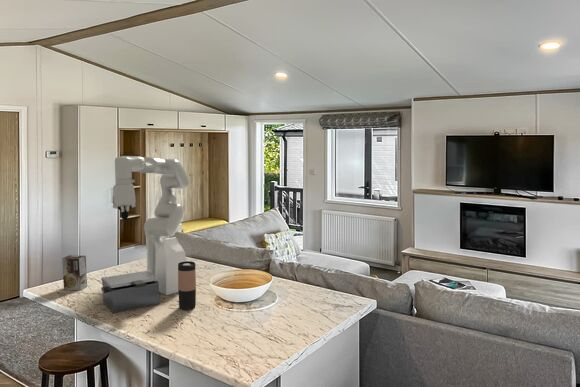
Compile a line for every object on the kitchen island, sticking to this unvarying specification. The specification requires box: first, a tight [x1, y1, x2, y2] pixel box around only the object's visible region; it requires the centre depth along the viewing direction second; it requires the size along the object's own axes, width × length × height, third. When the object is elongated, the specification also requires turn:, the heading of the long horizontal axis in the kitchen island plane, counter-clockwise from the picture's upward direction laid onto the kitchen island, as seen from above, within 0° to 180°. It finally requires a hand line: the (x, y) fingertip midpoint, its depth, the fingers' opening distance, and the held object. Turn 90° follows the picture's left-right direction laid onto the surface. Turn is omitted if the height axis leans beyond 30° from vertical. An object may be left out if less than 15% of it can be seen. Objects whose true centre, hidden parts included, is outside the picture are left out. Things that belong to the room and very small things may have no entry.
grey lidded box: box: [100, 280, 160, 314], centre depth 204 cm, size 24×18×10 cm
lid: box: [100, 270, 160, 288], centre depth 200 cm, size 21×25×2 cm
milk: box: [155, 236, 187, 296], centre depth 222 cm, size 12×12×26 cm
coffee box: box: [61, 254, 88, 291], centre depth 223 cm, size 9×6×16 cm
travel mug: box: [177, 260, 197, 311], centre depth 198 cm, size 8×8×20 cm
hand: (124, 219), depth 220 cm, fingers closed
